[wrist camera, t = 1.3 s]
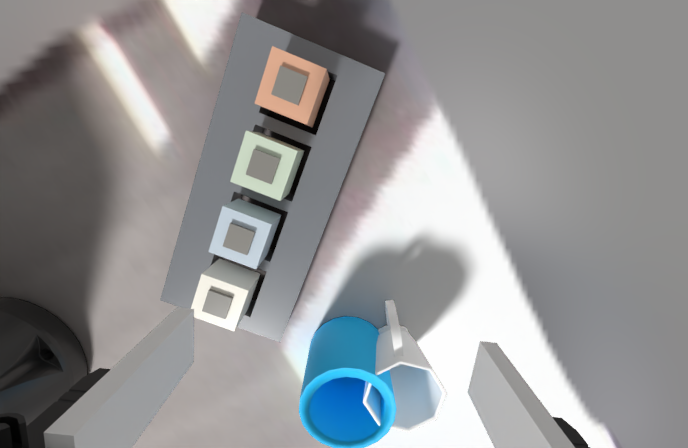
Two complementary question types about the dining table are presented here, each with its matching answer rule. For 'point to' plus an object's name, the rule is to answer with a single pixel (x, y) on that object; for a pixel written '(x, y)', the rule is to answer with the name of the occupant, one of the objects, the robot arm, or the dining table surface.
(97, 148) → the dining table surface
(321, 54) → the grey board
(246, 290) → the key ivory
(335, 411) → the mug
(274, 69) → the orange hollow cube
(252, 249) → the key blue
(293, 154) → the pale green square block
